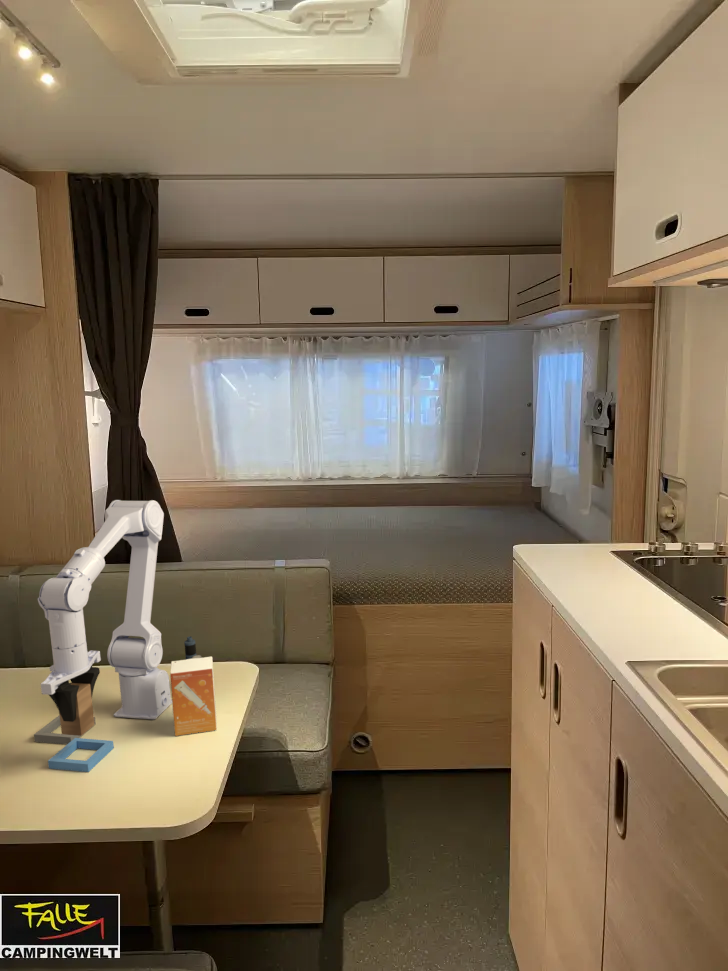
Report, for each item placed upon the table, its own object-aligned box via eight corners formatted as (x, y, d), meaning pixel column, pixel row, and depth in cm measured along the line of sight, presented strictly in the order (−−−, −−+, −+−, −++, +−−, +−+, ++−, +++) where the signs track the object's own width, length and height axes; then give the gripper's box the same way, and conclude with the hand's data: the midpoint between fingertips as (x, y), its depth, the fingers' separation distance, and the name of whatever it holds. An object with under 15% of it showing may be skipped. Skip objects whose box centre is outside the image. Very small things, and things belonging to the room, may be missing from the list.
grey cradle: (95, 724, 140) (95, 717, 140) (71, 744, 133) (70, 737, 132) (60, 721, 142) (59, 714, 142) (34, 741, 134) (33, 734, 134)
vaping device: (195, 685, 157) (191, 634, 155) (208, 691, 153) (204, 639, 151) (185, 688, 155) (181, 637, 153) (198, 696, 151) (193, 643, 149)
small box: (174, 737, 134) (169, 673, 132) (176, 721, 140) (170, 660, 138) (217, 731, 136) (212, 667, 134) (217, 715, 142) (212, 655, 140)
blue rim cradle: (113, 748, 131) (113, 740, 131) (88, 772, 123) (87, 764, 123) (76, 745, 132) (75, 737, 132) (48, 768, 125) (47, 760, 125)
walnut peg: (94, 724, 128) (90, 683, 127) (81, 735, 125) (76, 693, 123) (75, 723, 129) (70, 682, 128) (61, 734, 125) (56, 692, 124)
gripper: (74, 627, 132) (81, 694, 134) (21, 658, 118) (31, 732, 120) (107, 629, 131) (114, 697, 133) (58, 660, 117) (67, 735, 119)
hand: (77, 714), depth 126 cm, fingers closed on walnut peg, 4 cm apart
